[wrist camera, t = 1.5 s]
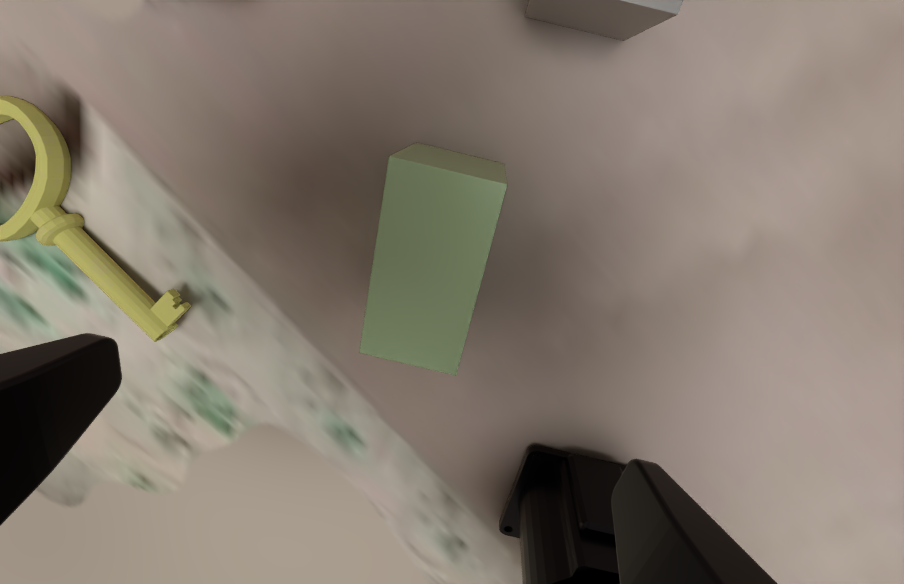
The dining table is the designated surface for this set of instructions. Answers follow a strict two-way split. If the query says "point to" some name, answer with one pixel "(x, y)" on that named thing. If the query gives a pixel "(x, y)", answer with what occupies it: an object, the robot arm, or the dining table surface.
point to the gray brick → (604, 15)
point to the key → (76, 225)
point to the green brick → (430, 255)
